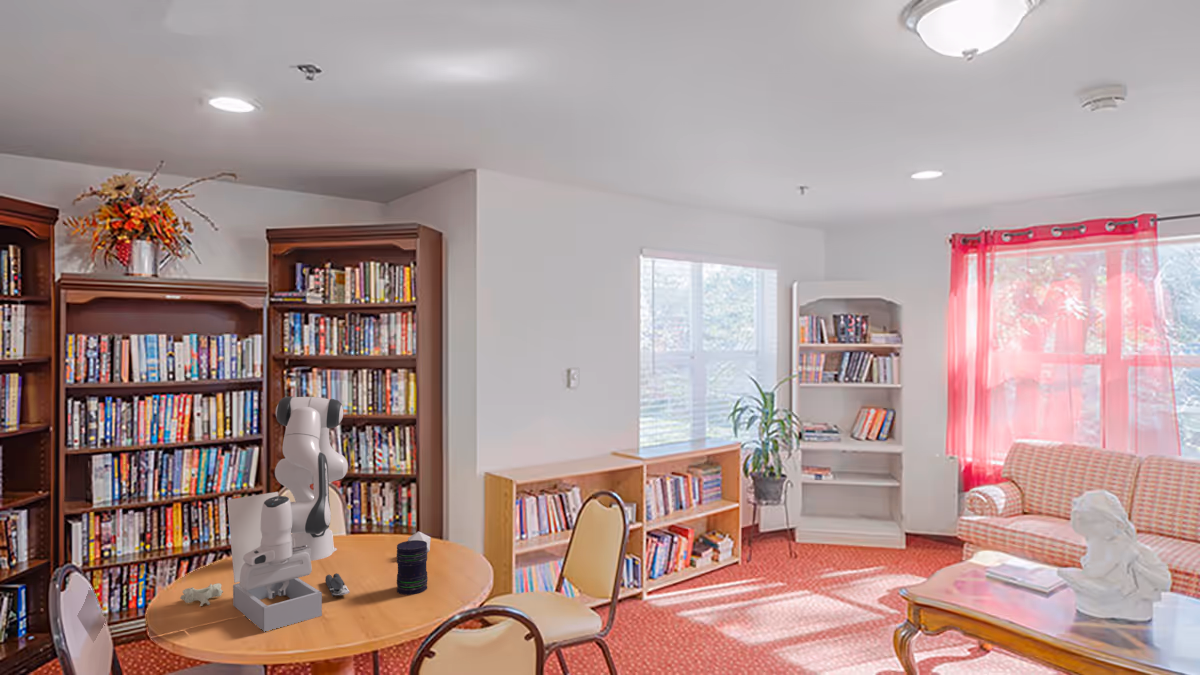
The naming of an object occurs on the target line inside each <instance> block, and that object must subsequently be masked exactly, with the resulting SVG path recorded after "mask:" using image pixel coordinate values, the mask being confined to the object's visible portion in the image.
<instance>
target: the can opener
mask: <svg viewBox="0 0 1200 675" xmlns="http://www.w3.org/2000/svg"><path fill="white" fill-rule="evenodd" d="M325 585H326V586H327V587H328V590H329V592H330V593H331V597H335V596H336V597H337V596H343V595H344V596H345V595H348V594H349V593H350V592H351V591H350V590H349V588H348V586H347V585H346V584H345V581H344V580H343V578H342V577H341V576H340V574H339V573H334V574H333V576H332V574H326V576H325Z"/></svg>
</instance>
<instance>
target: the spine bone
mask: <svg viewBox="0 0 1200 675" xmlns="http://www.w3.org/2000/svg"><path fill="white" fill-rule="evenodd" d="M222 593H224V590H223V589H222V583H214V584H212V583H209V585H208V586H207V587H203V588H199V589H197V588H194V587H189V588H185V589H183V590H182V595H180V599H179V600H181V601H184V602H185V603H186V604H190V603H193V602H195V601H199V602H200V605H199V607H200V606H202V607H203V605H204V604H206V605H207V606H210V605H211V603H210V601H209V599H212V598H216V597H217V598H218V597H221V596H222Z"/></svg>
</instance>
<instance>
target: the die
mask: <svg viewBox="0 0 1200 675" xmlns="http://www.w3.org/2000/svg"><path fill="white" fill-rule="evenodd" d="M431 538H432V537H431V536H429V535H427V534H425V533H423V532H421V531H417V532H415V533H413V534H412V535H410V536H409V537H408V538H407V541H412V540H420V541H425V542H427V553H429V552H430V549H431Z"/></svg>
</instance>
